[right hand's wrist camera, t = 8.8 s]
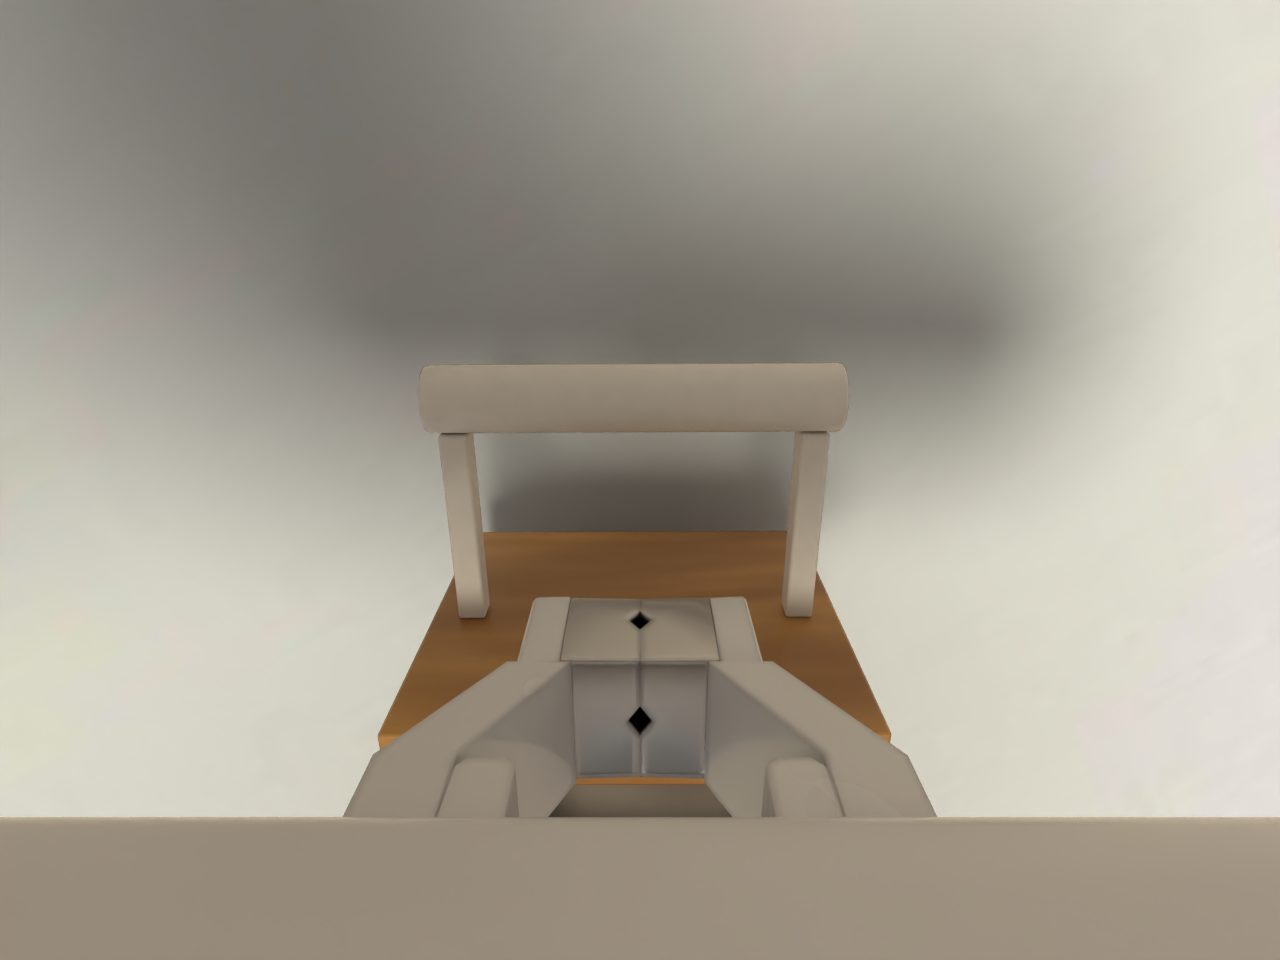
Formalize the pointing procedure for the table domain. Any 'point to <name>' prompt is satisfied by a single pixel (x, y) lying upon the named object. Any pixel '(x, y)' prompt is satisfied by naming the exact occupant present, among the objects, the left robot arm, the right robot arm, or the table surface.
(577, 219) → the table surface
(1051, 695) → the table surface
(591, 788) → the drawer
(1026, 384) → the table surface
